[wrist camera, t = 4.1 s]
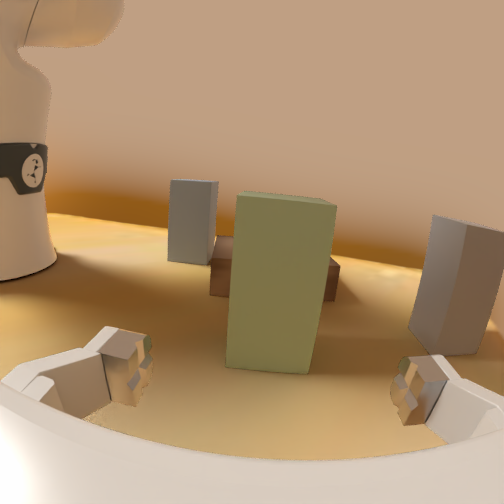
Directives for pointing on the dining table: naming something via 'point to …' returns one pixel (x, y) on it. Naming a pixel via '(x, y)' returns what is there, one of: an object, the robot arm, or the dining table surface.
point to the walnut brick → (223, 264)
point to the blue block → (192, 220)
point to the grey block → (457, 286)
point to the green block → (277, 280)
